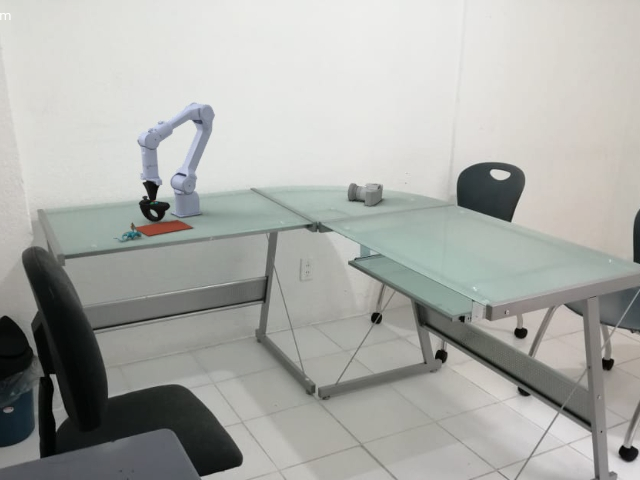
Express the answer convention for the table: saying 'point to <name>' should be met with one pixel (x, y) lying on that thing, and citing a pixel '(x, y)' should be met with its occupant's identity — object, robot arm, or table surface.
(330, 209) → the table surface
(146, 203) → the controller
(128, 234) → the dragon figurine
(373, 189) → the digital camera
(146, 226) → the mat
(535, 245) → the table surface
